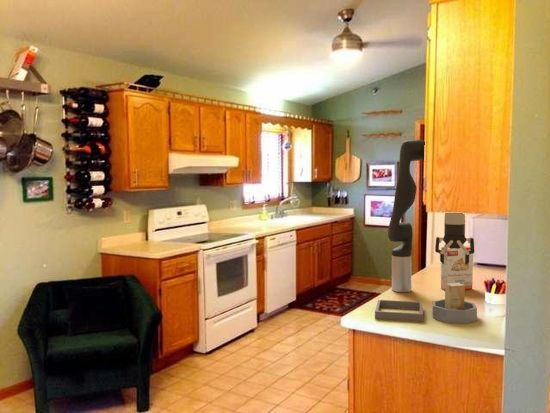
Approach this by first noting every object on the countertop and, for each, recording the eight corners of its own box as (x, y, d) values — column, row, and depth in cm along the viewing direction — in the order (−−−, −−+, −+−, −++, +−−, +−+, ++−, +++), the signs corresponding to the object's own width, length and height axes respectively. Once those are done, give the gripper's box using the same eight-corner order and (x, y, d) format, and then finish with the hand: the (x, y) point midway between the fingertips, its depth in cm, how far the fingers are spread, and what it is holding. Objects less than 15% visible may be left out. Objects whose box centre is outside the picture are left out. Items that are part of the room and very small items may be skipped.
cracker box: (447, 291, 227) (447, 248, 226) (440, 288, 233) (440, 246, 232) (473, 289, 230) (473, 246, 229) (466, 286, 236) (466, 245, 235)
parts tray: (378, 306, 204) (378, 299, 204) (421, 309, 199) (421, 302, 199) (374, 318, 187) (374, 311, 187) (422, 322, 182) (422, 314, 182)
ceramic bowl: (431, 310, 197) (431, 298, 197) (473, 312, 192) (473, 300, 192) (433, 321, 182) (433, 309, 181) (478, 324, 177) (478, 311, 177)
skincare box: (450, 316, 184) (450, 286, 183) (444, 313, 188) (444, 283, 188) (465, 315, 186) (465, 284, 185) (458, 312, 190) (458, 282, 189)
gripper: (473, 221, 186) (472, 262, 187) (435, 221, 190) (434, 261, 191) (475, 223, 179) (475, 266, 180) (435, 223, 183) (435, 264, 184)
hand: (454, 263), depth 186 cm, fingers open, 8 cm apart
